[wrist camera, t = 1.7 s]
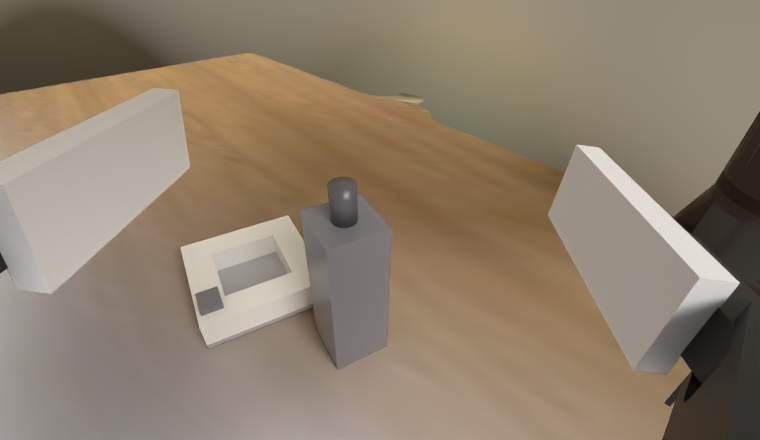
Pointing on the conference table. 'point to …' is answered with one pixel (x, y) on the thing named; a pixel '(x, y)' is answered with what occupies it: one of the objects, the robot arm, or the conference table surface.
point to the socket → (247, 279)
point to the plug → (348, 272)
